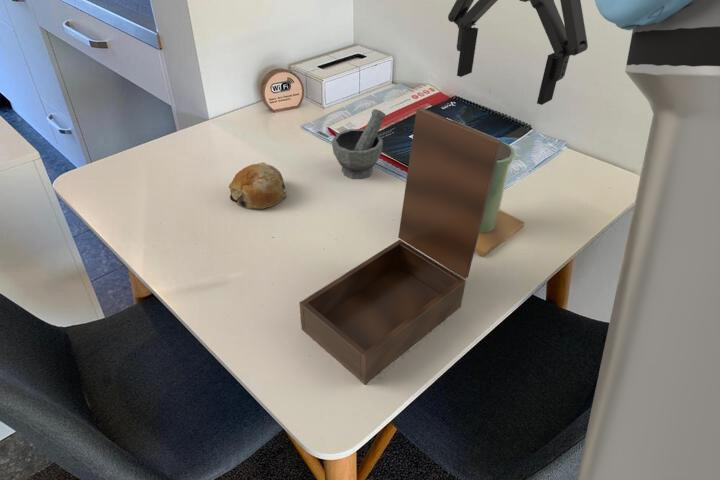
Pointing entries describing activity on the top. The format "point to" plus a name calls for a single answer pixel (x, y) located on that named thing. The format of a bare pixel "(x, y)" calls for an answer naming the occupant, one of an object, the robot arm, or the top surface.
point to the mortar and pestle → (359, 148)
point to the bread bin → (381, 308)
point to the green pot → (497, 188)
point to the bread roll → (257, 187)
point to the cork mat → (498, 233)
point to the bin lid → (447, 189)
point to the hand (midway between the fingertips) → (502, 87)
